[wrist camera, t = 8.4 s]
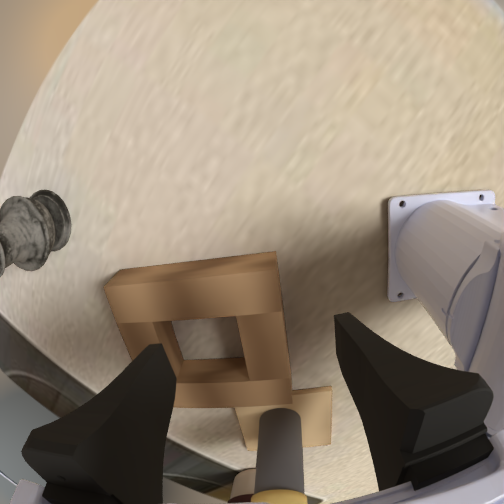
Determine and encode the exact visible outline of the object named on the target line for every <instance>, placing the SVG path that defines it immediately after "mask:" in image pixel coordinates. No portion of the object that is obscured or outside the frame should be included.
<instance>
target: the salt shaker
mask: <svg viewBox="0 0 504 504" xmlns="http://www.w3.org/2000/svg"><path fill="white" fill-rule="evenodd" d="M70 234H71V219H70V215H69V212H68V209H67V207H66V205H65V203H64V201H63V200H62V199H61V198H60V197H59V196H58V195H57V194H55V193H54V192H52V191H49V190H40V191H37V192H35V193H34V194H33V195H32V196H31V197H30V198H24V197H21V196H13V197H11V198H9V199H7V200H6V201H5V202H4V203H3V205H2V206H1V209H0V277H1V276H2V275H3V273H4V270H5V268H6V267H8V266H9V265H11V264H12V263H14V264H15V265H16V266H18V267H19V268H21V269H24V270H26V271H34V270H38V269H39V268H40V267H42V266H43V265H44V263H45V262H46V260H47V258H48V255H49V254H50V252H51V251H57V250H60V249H61V248H63V247H64V246H65V245H66V243H67V242H68V240H69V237H70Z"/></svg>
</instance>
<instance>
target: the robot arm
mask: <svg viewBox="0 0 504 504" xmlns="http://www.w3.org/2000/svg"><path fill="white" fill-rule="evenodd" d="M480 195H481V199H480V200H479V196H480ZM402 200H403V201H404V205H403V206H401V207H400V206H399V203H400V202H401V201H402ZM399 293H402V294H401V295H400V296H398V294H399ZM387 297H388V299H389V300H390V301H391V302H397V301H403V300H408V299H414V298H417V299H418V300H419V301H420V303H421V304H422V305H423V307H424V308H425V309H426V311H427V312H428V314H429V315H430V316H431V318H432V319H433V321H434V322H435V323H436V325H437V326H438V328H439V329H440V331H441V332H442V333H443V335H444V336H445V338H446V339H447V341H448V342H449V344H450V345H451V346H452V348H453V350H454V352H455V355H456V360H455V364H454V365H455V366H456V368H457V370H455V369H451V368H447V367H443V366H440V365H437V364H433V363H431V362H428V361H425V360H423V359H420V358H418V357H415V356H413V355H411V354H409V353H407V352H405V351H403V350H401V349H399V348H397V347H396V346H394V345H392V344H391V343H389V342H387V341H386V340H384V339H383V338H381V337H380V336H379V335H377V334H376V333H374V332H373V331H372V330H370V329H369V328H368V327H366V326H365V325H364V324H363V323H361V322H360V321H359V320H358V319H357V318H355V317H354V316H353V315H352V314H350V313H349V312H347V313H343V314H338V315H334V321H335V338H336V354H337V358H338V361H339V365H340V368H341V372H342V375H343V377H344V379H345V382H346V384H347V386H348V389H349V391H350V393H351V395H352V398H353V400H354V402H355V405H356V407H357V409H358V412H359V414H360V417H361V420H362V422H363V426H364V429H365V433H366V436H367V440H368V444H369V448H370V452H371V456H372V460H373V464H374V468H375V473H376V477H377V482H378V488H379V492H376V493H372V494H369V495H365V496H361V497H357V498H353V499H349V500H345V501H341V502H336V503H332V504H504V208H502V207H500V206H498V205H495V193H494V192H493V191H492V190H473V191H458V192H444V193H431V194H418V195H406V196H395V197H391V198H390V199H389V201H388V290H387ZM176 381H177V378H176V375H175V373H174V371H173V369H172V366H171V364H170V362H169V359H168V357H167V354H166V352H165V350H164V347H163V345H162V343H158V344H149V345H148V346H147V347H146V348H145V349H144V350H143V351H142V352H141V353H140V354H139V355H138V356H137V357H136V358H135V359H134V360H133V361H132V362H131V363H130V364H129V365H128V366H127V367H126V368H125V369H124V371H123V372H122V373H121V374H120V375H118V376H117V377H116V378H115V379H114V380H113V381H112V382H111V383H110V384H109V385H108V386H107V387H106V388H105V389H103V390H102V391H101V392H100V393H99V394H97V395H96V396H95V397H93V398H92V399H91V400H90V401H88V402H87V403H85V404H84V405H82V406H81V407H79V408H77V409H76V410H74V411H73V412H71V413H69V414H67V415H66V416H64V417H62V418H60V419H58V420H56V421H54V422H52V423H49V424H46V425H44V426H42V427H39V428H36V429H33V430H32V431H31V433H30V435H29V437H28V439H27V441H26V443H25V445H24V447H23V449H22V451H21V452H22V456H23V457H24V459H25V461H26V462H27V463H28V464H29V465H30V466H31V467H32V468H33V469H34V470H35V471H36V472H37V473H38V474H39V475H40V476H41V477H42V478H43V479H44V480H45V481H46V482H47V484H46V486H45V488H44V487H43V486H41V485H39V484H37V483H33V482H30V481H27V480H24V479H20V481H19V483H18V485H17V487H16V490H15V492H14V495H13V497H12V499H11V501H10V504H163V498H162V479H163V460H164V448H165V441H166V436H167V432H168V427H169V423H170V419H171V414H172V410H173V406H174V401H175V394H176ZM170 504H175V503H170ZM227 504H271V503H266V502H245V503H227Z"/></svg>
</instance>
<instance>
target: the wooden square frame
mask: <svg viewBox="0 0 504 504" xmlns="http://www.w3.org/2000/svg"><path fill="white" fill-rule="evenodd" d="M104 290H105V293H106V296H107V299H108V301H109V304H110V307H111V310H112V312H113V315H114V318H115V320H116V323H117V325H118V328H119V330H120V333H121V335H122V338H123V340H124V342H125V345H126V347H127V350H128V352H129V354H130V357H131V359H132V361H133V360H134V359H135V358H136V357H137V356H138V355H139V354H140V353H141V352H142V351H143V350H144V349H145V348H146V347H147V346H148V345H149V344H158V343H162V345H163V347H164V350H165V352H166V354H167V357H168V359H169V362H170V364H171V366H172V369H173V371H174V373H175V375H176V378H177V381H176V394H175V401H174V406H173V407H178V408H230V407H255V406H271V405H284V404H293V400H292V379H291V370H290V361H289V352H288V344H287V335H286V327H285V319H284V311H283V302H282V294H281V287H280V279H279V271H278V263H277V256H276V251H274V252H266V253H258V254H249V255H241V256H232V257H224V258H215V259H207V260H198V261H190V262H181V263H173V264H164V265H156V266H147V267H139V268H130V269H122V270H119V272H118V273H117V274H116V275H115V276H114V277H113V278H112V279H111V280H110V281H109V282H108V283H107V284H106V285H105V286H104ZM230 316H236V319H237V324H238V329H239V334H240V338H241V343H242V348H243V352H244V357H241V358H224V359H203V360H184V359H183V357H182V354H181V351H180V348H179V345H178V342H177V339H176V336H175V333H174V330H173V327H172V324H171V321H175V320H190V319H204V318H218V317H230Z"/></svg>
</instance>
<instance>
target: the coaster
mask: <svg viewBox="0 0 504 504" xmlns="http://www.w3.org/2000/svg"><path fill="white" fill-rule="evenodd" d="M292 400H293V404H284V405H271V406H255V407H235V411H236V414H237V417H238V421H239V424H240V427H241V431H242V434H243V437H244V440H245V443H246V447H247V450H248V451H257V448H258V434H259V419H260V416H261V415H262V414H263V413H264V412H266V411H268V410H271V409H275V408H287V409H291V410H294V411H296V412H297V413H298V414H299V415H300V417H301V429H302V448H303V447H313V446H321V445H329V444H331V426H332V387H331V386H327V387H320V388H311V389H302V390H293V391H292Z"/></svg>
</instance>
